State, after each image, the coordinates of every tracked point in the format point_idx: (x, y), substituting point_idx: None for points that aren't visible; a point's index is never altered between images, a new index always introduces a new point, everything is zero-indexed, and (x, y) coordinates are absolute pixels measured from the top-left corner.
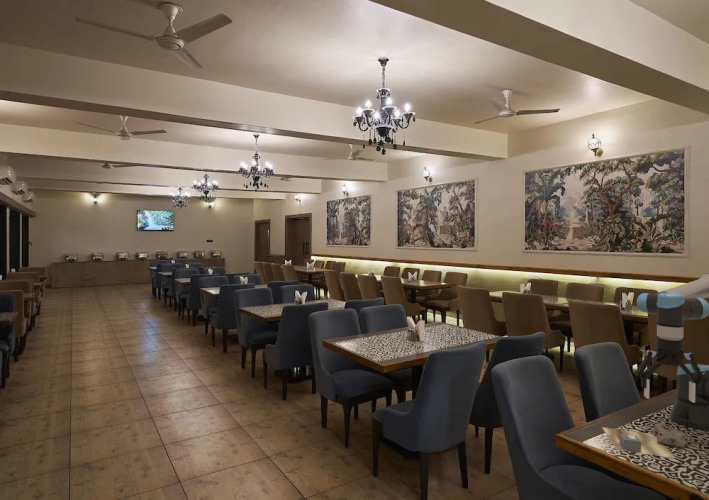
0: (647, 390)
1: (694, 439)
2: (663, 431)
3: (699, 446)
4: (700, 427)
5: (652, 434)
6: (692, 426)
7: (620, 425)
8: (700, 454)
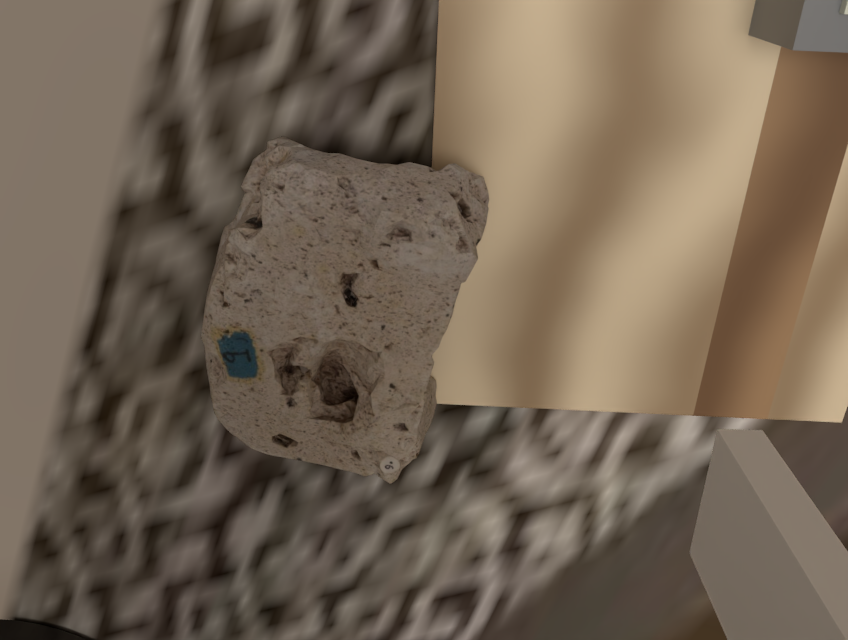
0: (831, 548)
1: (107, 428)
2: (436, 223)
3: (107, 293)
4: (7, 631)
5: (439, 391)
6: (59, 638)
7: (612, 535)
8: (149, 102)
